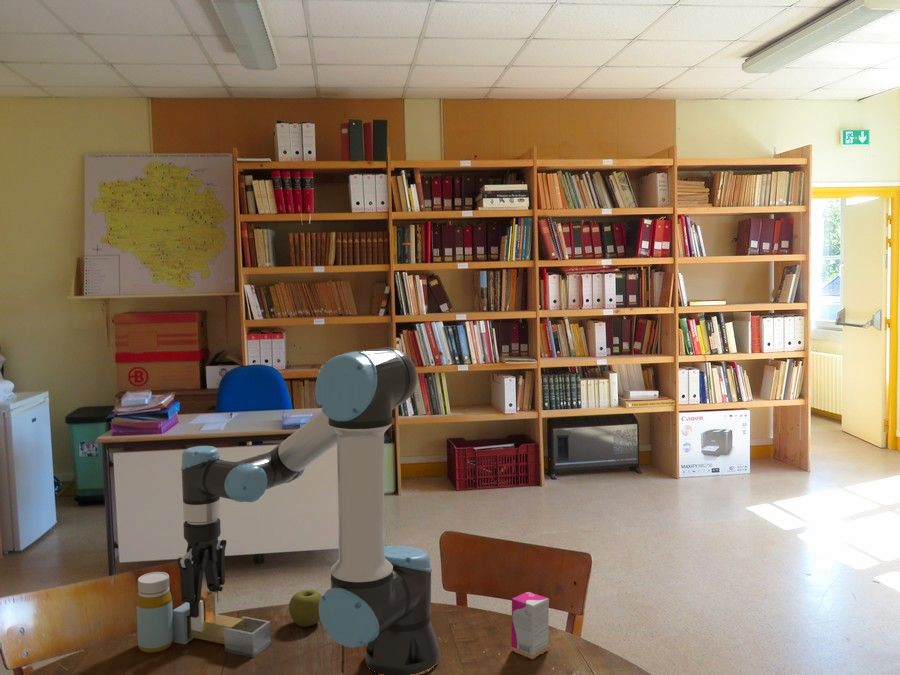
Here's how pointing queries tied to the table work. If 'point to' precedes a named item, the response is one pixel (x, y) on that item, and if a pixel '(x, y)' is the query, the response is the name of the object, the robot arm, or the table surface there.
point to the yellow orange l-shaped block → (213, 622)
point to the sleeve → (248, 637)
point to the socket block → (181, 624)
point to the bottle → (154, 613)
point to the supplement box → (530, 623)
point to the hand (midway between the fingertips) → (204, 625)
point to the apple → (305, 607)
